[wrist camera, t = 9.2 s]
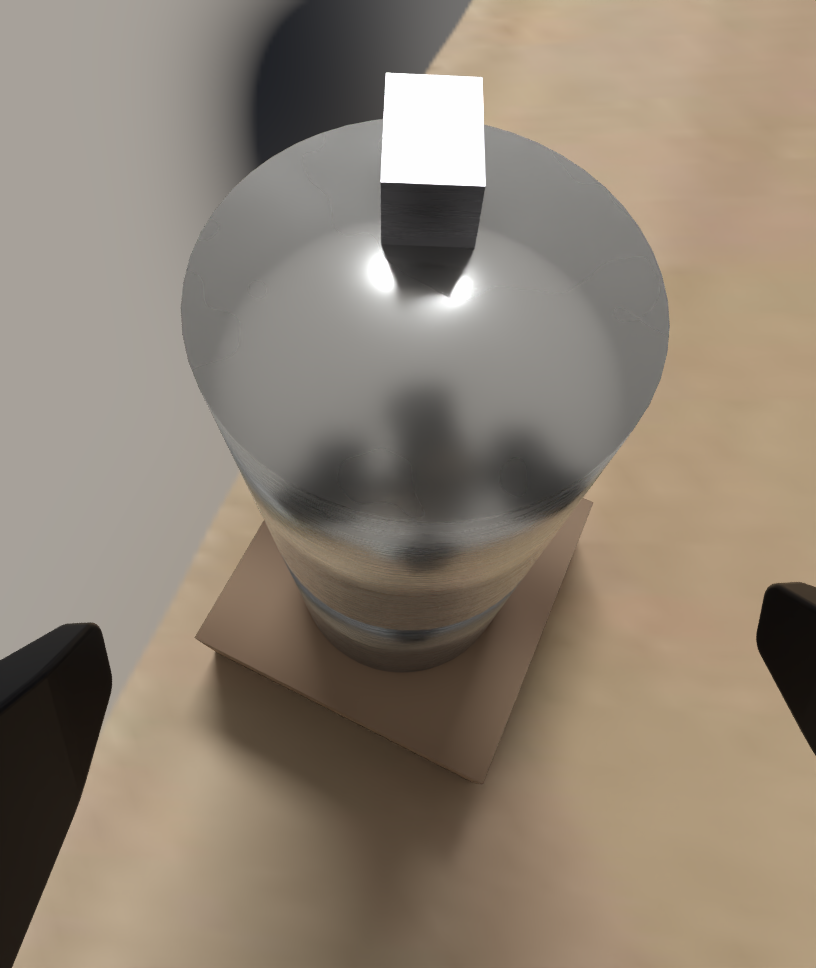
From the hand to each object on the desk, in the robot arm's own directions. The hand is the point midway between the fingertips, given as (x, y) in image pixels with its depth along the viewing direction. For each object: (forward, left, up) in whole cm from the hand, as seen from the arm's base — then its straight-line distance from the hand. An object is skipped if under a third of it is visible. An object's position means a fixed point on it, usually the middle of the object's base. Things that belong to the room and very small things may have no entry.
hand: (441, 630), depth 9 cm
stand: (+3, +2, -13) cm, 14 cm away
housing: (+3, +2, -11) cm, 11 cm away
